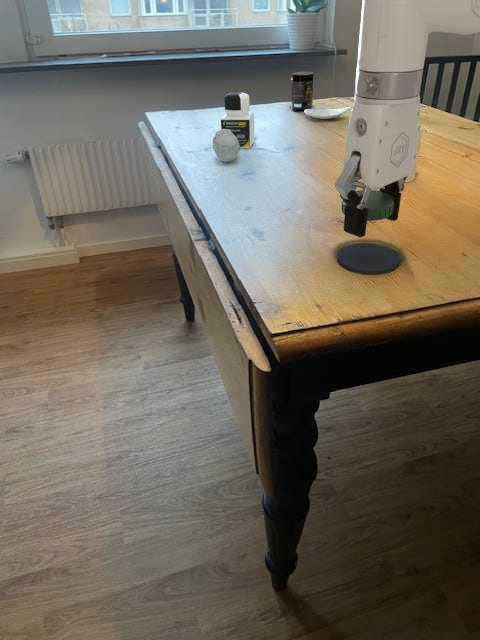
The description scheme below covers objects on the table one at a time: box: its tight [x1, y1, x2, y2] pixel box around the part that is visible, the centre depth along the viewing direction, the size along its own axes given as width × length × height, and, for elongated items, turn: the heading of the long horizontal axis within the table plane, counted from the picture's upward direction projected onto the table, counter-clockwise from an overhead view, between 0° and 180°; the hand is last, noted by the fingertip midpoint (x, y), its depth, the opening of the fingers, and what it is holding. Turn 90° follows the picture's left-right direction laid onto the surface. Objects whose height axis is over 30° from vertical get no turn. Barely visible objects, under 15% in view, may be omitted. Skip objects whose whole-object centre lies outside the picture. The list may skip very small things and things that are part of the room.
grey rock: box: [212, 128, 240, 163], centre depth 113 cm, size 6×7×7 cm
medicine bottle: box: [220, 91, 255, 149], centre depth 123 cm, size 7×7×12 cm
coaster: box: [336, 242, 402, 276], centre depth 72 cm, size 9×9×1 cm
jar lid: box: [341, 189, 394, 222], centre depth 68 cm, size 7×7×2 cm
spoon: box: [304, 105, 353, 120], centre depth 145 cm, size 9×32×4 cm, turn 89°
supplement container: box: [290, 71, 315, 113], centre depth 155 cm, size 7×7×10 cm
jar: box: [404, 122, 423, 184], centre depth 98 cm, size 6×6×10 cm
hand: (371, 224), depth 69 cm, fingers closed on jar lid, 6 cm apart
